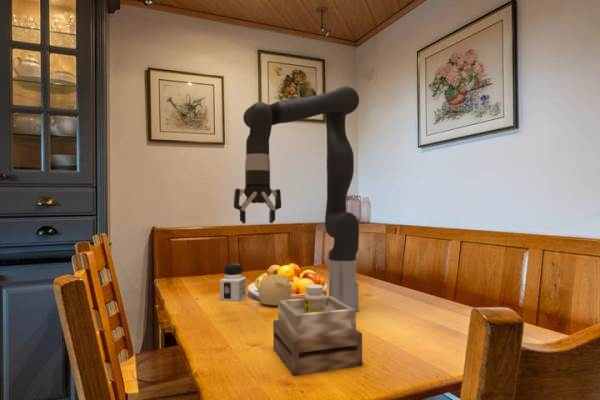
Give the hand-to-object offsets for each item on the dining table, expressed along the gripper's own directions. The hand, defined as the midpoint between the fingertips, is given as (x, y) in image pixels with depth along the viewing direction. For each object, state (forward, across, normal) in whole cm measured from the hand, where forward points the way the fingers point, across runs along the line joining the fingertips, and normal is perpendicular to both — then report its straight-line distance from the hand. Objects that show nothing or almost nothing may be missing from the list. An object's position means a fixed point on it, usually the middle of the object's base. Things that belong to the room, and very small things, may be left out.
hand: (257, 223), depth 116 cm
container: (+30, -2, +34) cm, 46 cm away
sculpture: (+30, +11, +20) cm, 38 cm away
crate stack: (+30, +7, -30) cm, 43 cm away
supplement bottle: (+22, +7, -30) cm, 38 cm away
